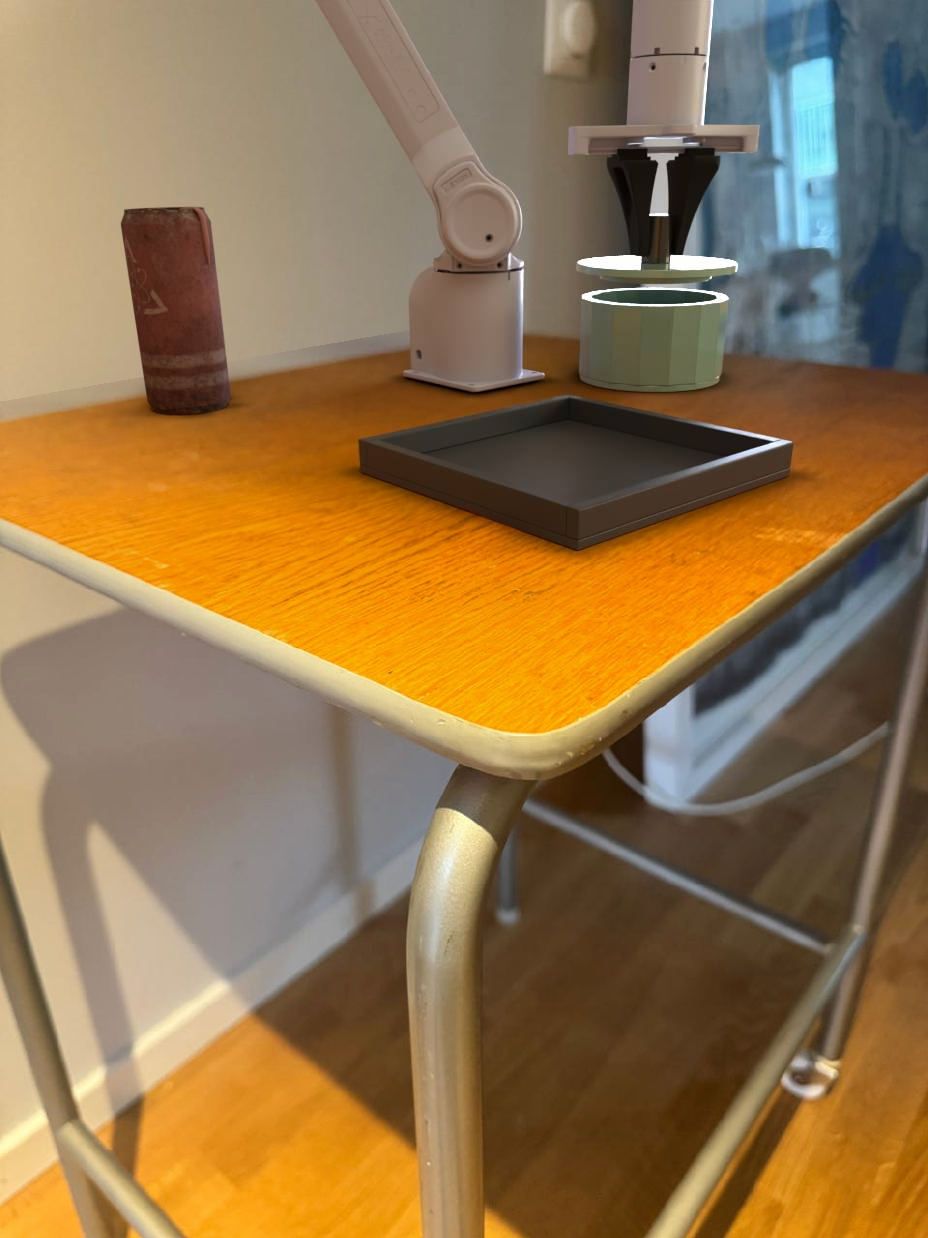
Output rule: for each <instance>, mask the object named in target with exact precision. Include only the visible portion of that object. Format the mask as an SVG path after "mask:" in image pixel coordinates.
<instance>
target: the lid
mask: <svg viewBox="0 0 928 1238" xmlns="http://www.w3.org/2000/svg"><path fill="white" fill-rule="evenodd" d="M673 230H674V215H672V214H668V213H650V227H649V246H648V252H647V257H637V256H633V255H618V256H617V255H616V256H614V255H613V256H603V257H602V256H601V257H592V258H584V259H581V260H578V261H576V262H575V265H576V266H575V271H577V273H580V274H584V275H590V276H596V277H597V276H598V277H599V279H600V280H602V281H606V282H610V283H619V284H633V285H682V284H695V283H696V284H697V283H703V282H707V281H710V280H712V277H721V276H727V275H733V274H734V273H737V271H738V263H737V261H734V260H731V259H725V258H717V257H707V256H691V255H682V256H674V255H672V244H673Z"/></svg>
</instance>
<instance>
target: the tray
mask: <svg viewBox="0 0 928 1238" xmlns="http://www.w3.org/2000/svg"><path fill="white" fill-rule="evenodd" d="M357 443H358V455H359V457H358V458H359V459H358V460H359V472H360V473H361V474H365V475H367V476H370V477H373V478H376V479H379V480H381V481H384V482H387V483H389V484H392V485H395V486H398V487H401V488H404V489H406V490H409V491H412V492H415V493H417V494H420V495H423V496H426V497H428V498H431V499H434V500H437V501H439V502H443V503H445V504H448V505H451V506H454V507H456V508H460V510H461V509H462V510H464V511H468V512H470V513H473V514H476V515H478V516H481V517H484V518H485V519H490V520H492V521H495V522H497V523H500V524H503V525H506V526H508V527H511V528H515V529H517V530H520V531H522V532H525V533H528V534H531V535H533V536H537V537H539V538H542V539H545V540H547V541H551V542H553V543H556V544H559V545H562V546H564V547H567V548H569V549H573V550H575V551H579V550H582V549H585V548H588V547H591V546H593V545H596V544H599V543H603V542H605V541H608V540H611V539H614V538H616V537H620V536H623V535H625V534H628V533H631V532H633V531H637V530H639V529H643V528H645V527H648V526H650V525H653V524H656V523H659V522H663V521H664V520H668V519H670V518H673V517H676V516H679V515H683V514H684V513H688V512H690V511H693V510H697V509H699V508H703V507H704V506H708V505H710V504H714V503H717V502H719V501H722V500H724V499H725V500H726V499H728V498H730V497H733V496H736V495H739V494H742V493H744V492H748V491H751V490H753V489H755V488H758V487H761V486H764V485H768V484H770V483H773V482H776V481H778V480H781V479H784V478H787V477H789V476H790V475H791V466H792V459H793V451H794V441H790V440H786V439H782V438H778V437H774V436H768V435H763V434H759V433H755V432H750V431H746V430H739V429H735V428H731V427H725V426H721V425H716V424H712V423H708V422H702V421H698V420H693V419H687V418H684V417H678V416H674V415H669V414H664V413H659V412H655V411H649V410H646V409H640V408H636V407H631V406H627V405H622V404H617V403H612V402H607V401H604V400H603V401H602V400H598V399H593V398H589V397H584V396H579V395H574V394H571V393H567V394H563V395H562V394H561V395H558V396H554V397H549V398H544V399H539V400H535V401H530V402H526V403H525V402H524V403H520V404H516V405H511V406H507V407H502V408H497V409H493V410H488V411H484V412H478V413H474V414H470V415H465V416H459V417H455V418H451V419H446V420H441V421H437V422H436V421H435V422H431V423H427V424H423V425H418V426H414V427H409V428H404V429H400V430H395V431H390V432H386V433H379V434H375V435H371V436H367V437H362V438H358V442H357Z"/></svg>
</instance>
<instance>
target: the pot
mask: <svg viewBox="0 0 928 1238" xmlns="http://www.w3.org/2000/svg"><path fill="white" fill-rule="evenodd" d="M729 302H730V301H729V297H728V296H727V295H726V294H723V293H720V292H719V293H718V292H715V291H707V290H699V289H688V288H667V287H648V288H647V287H635V288H632V287H631V288H613V289H606V290H605V289H604V290H596V291H591V292H587V293H584V294H581V303H580V329H579V331H580V332H579V361H578V378H579V380H580V381H582V382H583V383H585V384H588V385H591V386H593V387H598V388H603V389H608V390H615V391H624V392H636V393H637V392H638V393H676V392H686V391H687V392H689V391H695V390H701V389H706V388H709V387H712V386H715V385H717V384H718V383H719V382H720V380H721V376H722V372H723V362H724V353H725V341H726V331H727V323H728V322H727V320H728V309H729Z"/></svg>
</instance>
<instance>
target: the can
mask: <svg viewBox="0 0 928 1238" xmlns="http://www.w3.org/2000/svg"><path fill="white" fill-rule="evenodd" d="M120 228H121V229H120V230H121V235H122V242H123V249H124V255H125V262H126V269H127V275H128V282H129V288H130V295H131V302H132V309H133V315H134V321H135V329H136V335H137V343H138V348H139V354H140V361H141V368H142V374H143V375H142V376H143V381H144V388H145V389H144V390H145V395H146V401H147V403H148V404H149V406H150V407H151V409H153V411H154V412H156V413H159V414H164V415H181V416H183V415H197V414H204V413H211V412H215V411H218V410H221V409H224V408H226V407H227V405H228V403H229V401H230V399H231V396H232V394H231V385H230V377H229V368H228V359H227V351H226V343H225V335H224V325H223V317H222V307H221V298H220V290H219V281H218V273H217V265H216V264H217V263H216V255H215V247H214V238H213V237H214V236H213V229H212V221H211V219H210V217H209V215H208V214H207V212H206V211H205V207H203V206H166V207H165V206H164V207H163V206H162V207H139V208H137V207H136V208H125V209H123V214H122V218H121V221H120Z"/></svg>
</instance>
